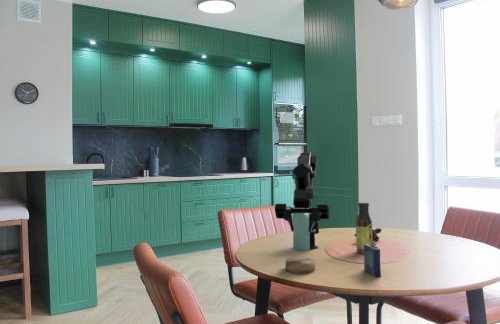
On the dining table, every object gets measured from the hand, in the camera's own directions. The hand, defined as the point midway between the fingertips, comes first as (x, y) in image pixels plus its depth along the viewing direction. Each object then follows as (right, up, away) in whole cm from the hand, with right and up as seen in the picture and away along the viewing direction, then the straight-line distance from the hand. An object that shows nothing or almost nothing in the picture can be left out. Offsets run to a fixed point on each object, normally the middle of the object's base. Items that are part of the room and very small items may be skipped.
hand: (300, 231), depth 135 cm
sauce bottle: (+28, -13, +24) cm, 40 cm away
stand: (0, -13, +2) cm, 14 cm away
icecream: (+35, -12, +43) cm, 57 cm away
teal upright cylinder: (0, -7, +1) cm, 7 cm away
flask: (+23, -13, -4) cm, 27 cm away
